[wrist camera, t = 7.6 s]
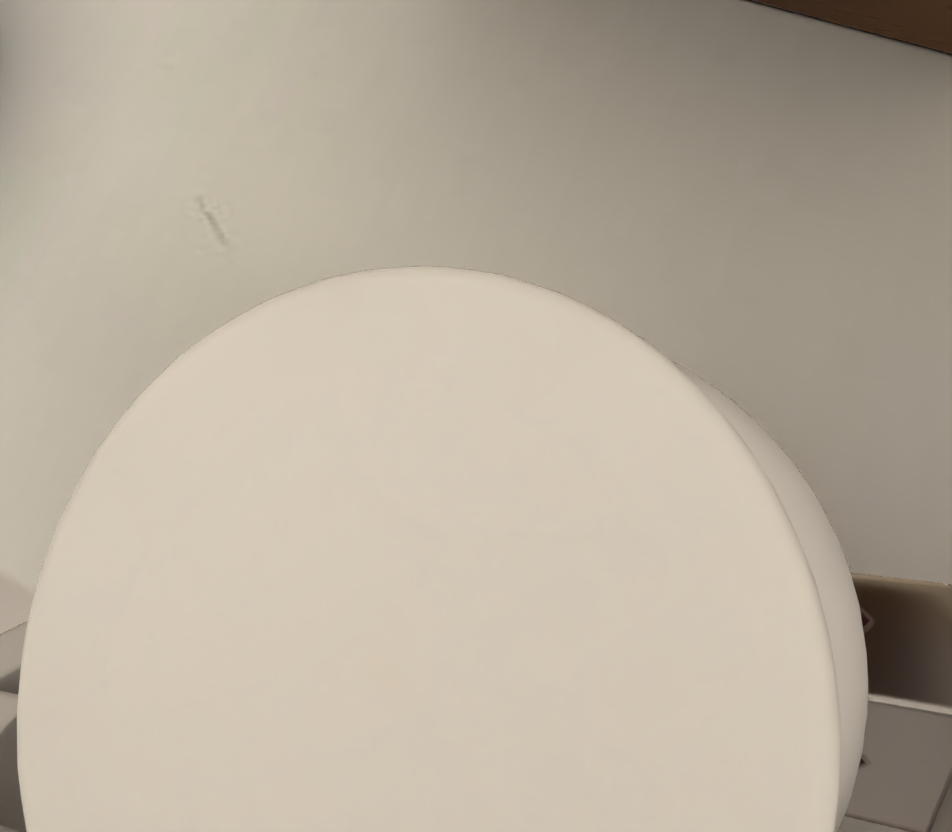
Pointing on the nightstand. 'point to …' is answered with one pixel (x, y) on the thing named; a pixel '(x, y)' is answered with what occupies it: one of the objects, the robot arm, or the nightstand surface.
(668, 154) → the nightstand surface
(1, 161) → the nightstand surface
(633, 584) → the pill bottle
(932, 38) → the walnut riser
